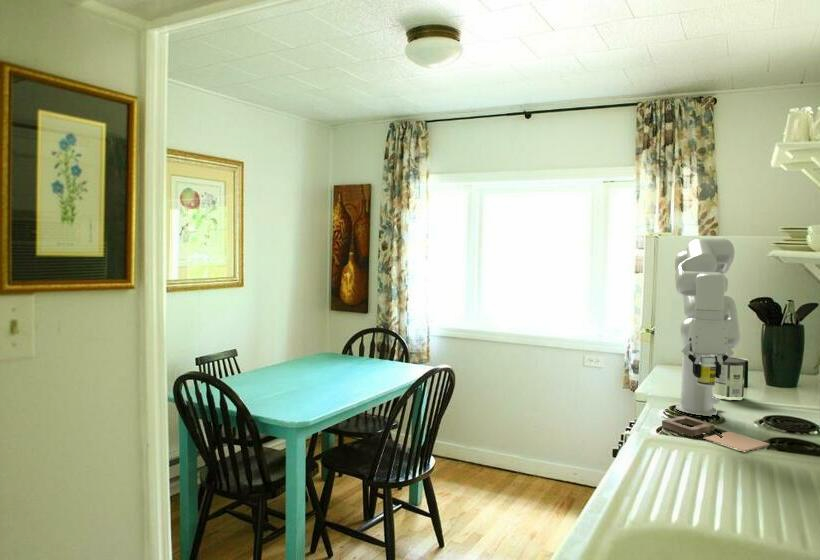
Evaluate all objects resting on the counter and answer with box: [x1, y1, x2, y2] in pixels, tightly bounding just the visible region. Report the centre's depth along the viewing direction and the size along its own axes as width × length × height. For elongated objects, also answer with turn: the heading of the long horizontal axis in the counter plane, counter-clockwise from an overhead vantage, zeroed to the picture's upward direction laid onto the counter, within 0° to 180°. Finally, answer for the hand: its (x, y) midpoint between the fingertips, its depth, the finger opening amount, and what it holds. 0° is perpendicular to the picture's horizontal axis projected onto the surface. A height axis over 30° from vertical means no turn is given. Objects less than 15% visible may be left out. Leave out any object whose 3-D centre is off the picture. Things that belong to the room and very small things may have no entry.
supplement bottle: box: [697, 355, 716, 387], centre depth 176 cm, size 5×5×8 cm
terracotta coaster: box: [702, 431, 770, 452], centre depth 171 cm, size 12×12×1 cm
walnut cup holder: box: [661, 415, 716, 438], centre depth 182 cm, size 10×10×2 cm
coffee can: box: [713, 356, 746, 397], centre depth 218 cm, size 10×10×14 cm
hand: (706, 376), depth 176 cm, fingers closed on supplement bottle, 4 cm apart
